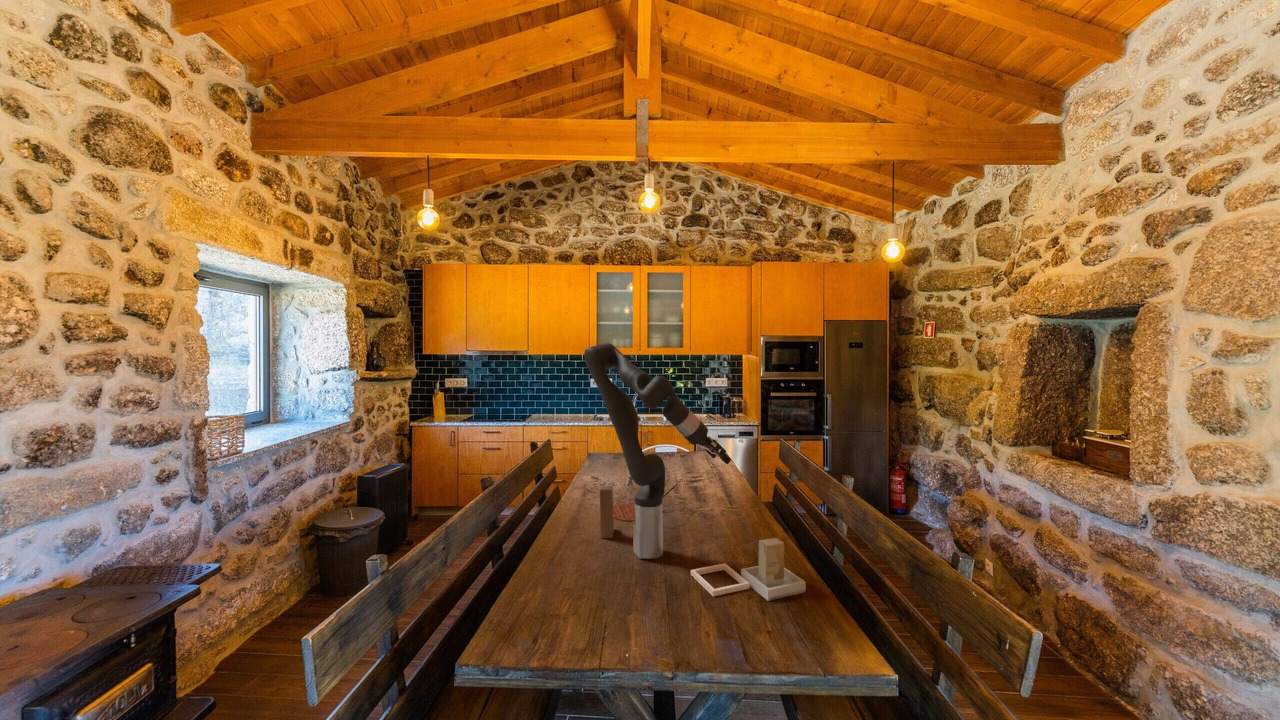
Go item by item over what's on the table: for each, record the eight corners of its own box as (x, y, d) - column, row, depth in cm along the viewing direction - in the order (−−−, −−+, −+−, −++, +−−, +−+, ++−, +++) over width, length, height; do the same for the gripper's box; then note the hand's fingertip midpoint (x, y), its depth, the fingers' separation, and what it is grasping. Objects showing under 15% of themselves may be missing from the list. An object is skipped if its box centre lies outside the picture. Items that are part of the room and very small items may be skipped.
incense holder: (604, 507, 217) (604, 481, 217) (671, 501, 223) (671, 477, 223) (611, 524, 197) (610, 496, 196) (684, 518, 202) (684, 491, 202)
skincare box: (766, 587, 143) (765, 545, 142) (757, 581, 147) (757, 540, 146) (785, 584, 145) (785, 542, 144) (776, 577, 149) (776, 536, 148)
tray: (768, 600, 137) (768, 590, 137) (741, 579, 150) (741, 569, 150) (805, 592, 142) (805, 581, 141) (776, 571, 154) (776, 561, 154)
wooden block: (602, 529, 191) (601, 482, 190) (613, 529, 191) (613, 482, 190) (600, 538, 182) (599, 489, 181) (612, 538, 182) (612, 489, 181)
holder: (713, 596, 140) (713, 591, 140) (690, 574, 153) (690, 569, 153) (749, 588, 144) (749, 583, 144) (724, 567, 157) (724, 563, 157)
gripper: (708, 421, 153) (740, 454, 158) (687, 415, 167) (718, 446, 171) (693, 439, 152) (726, 473, 156) (673, 432, 165) (704, 463, 169)
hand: (722, 459), depth 164 cm, fingers open, 8 cm apart
